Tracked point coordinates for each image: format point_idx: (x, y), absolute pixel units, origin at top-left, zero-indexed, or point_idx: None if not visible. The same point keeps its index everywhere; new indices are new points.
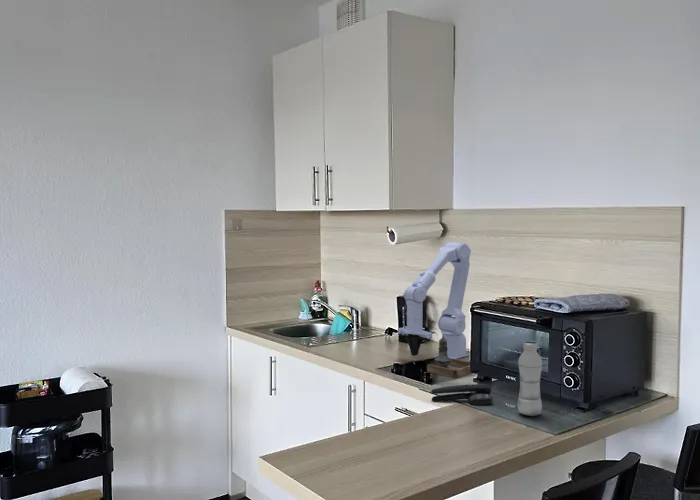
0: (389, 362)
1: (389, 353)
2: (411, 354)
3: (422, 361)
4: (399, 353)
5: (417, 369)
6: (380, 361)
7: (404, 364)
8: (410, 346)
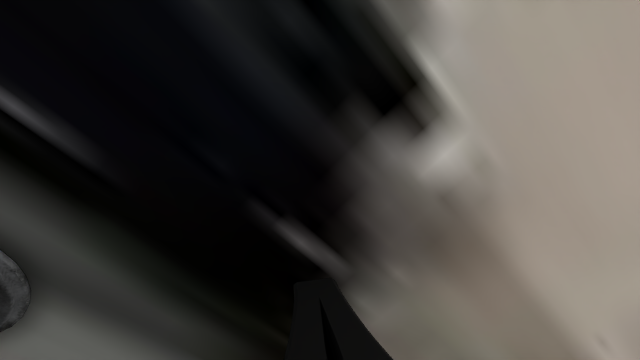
0: (493, 100)
1: (616, 289)
2: (332, 281)
3: None
4: (556, 330)
5: (72, 99)
6: (586, 63)
7: (334, 151)
8: (358, 352)
